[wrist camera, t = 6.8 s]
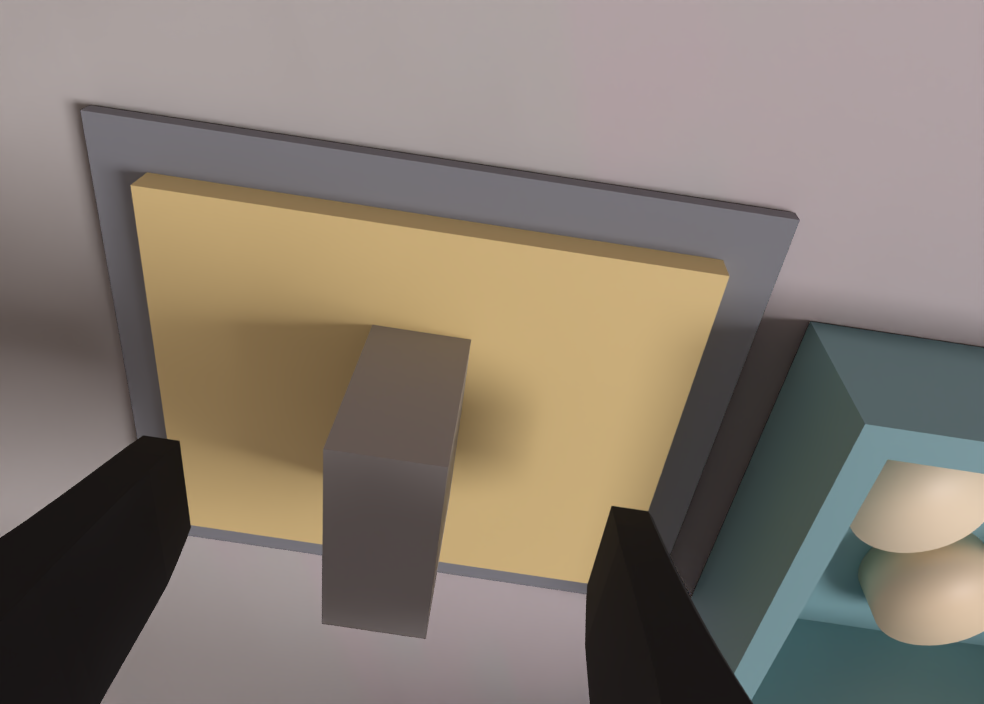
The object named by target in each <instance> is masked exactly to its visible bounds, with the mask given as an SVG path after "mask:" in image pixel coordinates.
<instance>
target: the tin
mask: <svg viewBox="0 0 984 704" xmlns="http://www.w3.org/2000/svg"><path fill="white" fill-rule="evenodd" d="M691 599H692V601H693V603H694V605H695V607H696V609H697V610H698V612H699V614H700V616H701V618H702V620H703V621H704V623H705V625H706V627H707V629H708V631H709V632H710V634H711V636H712V638H713V639H714V641H715V643H716V645H717V646H718V648H719V650H720V651H721V653H722V655H723V656H724V658H725V660H726V661H727V663H728V665H729V666H730V668H731V669H732V671H733V673H734V674H735V676H736V678H737V679H738V681H739V682H740V684H741V685H742V687H743V689H744V690H745V692H746V693H747V695H748V696H749V698H750V699H751V701H752V702H753V704H984V348H982V347H976V346H969V345H963V344H956V343H949V342H943V341H936V340H930V339H923V338H916V337H910V336H903V335H897V334H890V333H883V332H877V331H870V330H864V329H857V328H850V327H844V326H837V325H831V324H824V323H817V322H811V321H810V323H809V326H808V328H807V330H806V333H805V335H804V337H803V340H802V342H801V344H800V347H799V349H798V351H797V354H796V356H795V358H794V360H793V363H792V365H791V367H790V370H789V372H788V374H787V377H786V379H785V381H784V384H783V386H782V388H781V391H780V393H779V395H778V398H777V400H776V402H775V405H774V407H773V409H772V412H771V414H770V416H769V419H768V421H767V423H766V426H765V428H764V430H763V433H762V435H761V437H760V439H759V442H758V444H757V446H756V449H755V451H754V453H753V456H752V458H751V460H750V463H749V465H748V467H747V470H746V472H745V474H744V477H743V479H742V481H741V484H740V486H739V488H738V491H737V493H736V495H735V498H734V500H733V502H732V505H731V507H730V509H729V512H728V514H727V516H726V518H725V521H724V523H723V525H722V528H721V530H720V532H719V535H718V537H717V539H716V542H715V544H714V546H713V549H712V551H711V553H710V556H709V558H708V560H707V563H706V565H705V567H704V570H703V572H702V574H701V577H700V579H699V581H698V584H697V586H696V588H695V590H694V593H693V595H692V597H691Z"/></svg>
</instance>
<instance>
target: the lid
mask: <svg viewBox="0 0 984 704" xmlns="http://www.w3.org/2000/svg"><path fill="white" fill-rule="evenodd" d="M130 186H131V192H132V199H133V206H134V213H135V220H136V227H137V234H138V241H139V248H140V255H141V262H142V269H143V275H144V282H145V289H146V296H147V303H148V310H149V317H150V324H151V331H152V338H153V345H154V352H155V359H156V365H157V372H158V379H159V386H160V393H161V400H162V407H163V414H164V421H165V428H166V435H167V439H171V440H178V441H180V447H181V455H182V462H183V470H184V478H185V485H186V493H187V500H188V508H189V516H190V523H191V525H193V526H200V527H207V528H214V529H221V530H227V531H234V532H241V533H248V534H254V535H261V536H268V537H275V538H282V539H288V540H295V541H302V542H309V543H316V544H322V624H327V625H334V626H341V627H348V628H355V629H361V630H368V631H375V632H382V633H389V634H396V635H402V636H409V637H416V638H423V639H426V634H427V628H428V622H429V616H430V610H431V604H432V598H433V593H434V587H435V581H436V575H437V569H438V563H439V562H444V563H451V564H458V565H465V566H472V567H478V568H485V569H492V570H499V571H505V572H512V573H519V574H526V575H533V576H539V577H546V578H553V579H560V580H567V581H573V582H580V583H587V584H588V581H589V578H590V575H591V571H592V568H593V565H594V561H595V558H596V555H597V552H598V548H599V545H600V542H601V539H602V535H603V532H604V529H605V525H606V522H607V519H608V516H609V512H610V509H611V506H617V507H624V508H631V509H637V510H644V511H648V510H649V507H650V504H651V501H652V499H653V496H654V493H655V490H656V487H657V484H658V481H659V478H660V476H661V473H662V470H663V467H664V464H665V461H666V458H667V455H668V452H669V450H670V447H671V444H672V441H673V438H674V435H675V432H676V429H677V426H678V424H679V421H680V418H681V415H682V412H683V409H684V406H685V403H686V400H687V398H688V395H689V392H690V389H691V386H692V383H693V380H694V377H695V375H696V372H697V369H698V366H699V363H700V360H701V357H702V354H703V351H704V349H705V346H706V343H707V340H708V337H709V334H710V331H711V328H712V325H713V323H714V320H715V317H716V314H717V311H718V308H719V305H720V302H721V299H722V297H723V294H724V291H725V288H726V285H727V282H728V279H729V274H728V271H727V269H726V266H725V264H724V261H723V260H720V259H713V258H707V257H700V256H693V255H687V254H680V253H674V252H667V251H661V250H654V249H647V248H641V247H634V246H628V245H621V244H615V243H608V242H601V241H595V240H588V239H582V238H575V237H569V236H562V235H555V234H549V233H542V232H536V231H529V230H523V229H516V228H509V227H503V226H496V225H490V224H483V223H477V222H470V221H463V220H457V219H450V218H444V217H437V216H431V215H424V214H417V213H411V212H404V211H398V210H391V209H385V208H378V207H371V206H365V205H358V204H352V203H345V202H339V201H332V200H325V199H319V198H312V197H306V196H299V195H293V194H286V193H279V192H273V191H266V190H260V189H253V188H247V187H240V186H233V185H227V184H220V183H214V182H207V181H201V180H194V179H187V178H181V177H174V176H168V175H161V174H155V173H148V172H147V173H146V174H144V175H143V176H142V177H140V178H139V179H138V180H137V181H135V182H134V183H133V184H131V185H130Z"/></svg>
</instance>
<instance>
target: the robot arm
mask: <svg viewBox="0 0 984 704" xmlns="http://www.w3.org/2000/svg"><path fill="white" fill-rule="evenodd" d="M190 529H191V523H190V516H189V508H188V500H187V493H186V485H185V478H184V470H183V462H182V455H181V447H180V441H178V440H171V439H165V438H158V437H151V436H145V435H143V436H141V437H140V438H139V439H137V440H136V441H134V442H133V443H132V444H130V445H129V446H127V447H126V448H125V449H123V450H122V451H121V452H119V453H118V454H116V455H115V456H114V457H112V458H111V459H110V460H108V461H107V462H106V463H104V464H103V465H102V466H100V467H99V468H98V469H96V470H95V471H94V472H92V473H91V474H90V475H88V476H87V477H86V478H84V479H83V480H82V481H80V482H79V483H77V484H76V485H75V486H73V487H72V488H71V489H69V490H68V491H67V492H65V493H64V494H62V495H61V496H60V497H58V498H57V499H55V500H54V501H53V502H51V503H50V504H48V505H47V506H46V507H44V508H43V509H41V510H40V511H39V512H37V513H36V514H34V515H33V516H32V517H30V518H29V519H27V520H26V521H25V522H23V523H22V524H20V525H19V526H17V527H16V528H14V529H13V530H11V531H10V532H8V533H7V534H5V535H4V536H2V537H1V538H0V704H100V703H101V701H102V699H103V697H104V696H105V694H106V692H107V690H108V689H109V687H110V685H111V683H112V682H113V680H114V678H115V676H116V675H117V673H118V671H119V669H120V668H121V666H122V664H123V662H124V661H125V659H126V657H127V655H128V654H129V652H130V650H131V648H132V647H133V645H134V643H135V641H136V640H137V638H138V636H139V634H140V633H141V631H142V629H143V627H144V626H145V624H146V622H147V620H148V619H149V617H150V615H151V613H152V611H153V610H154V608H155V606H156V604H157V603H158V601H159V599H160V597H161V595H162V594H163V592H164V590H165V588H166V586H167V584H168V582H169V580H170V578H171V575H172V573H173V571H174V568H175V566H176V564H177V561H178V559H179V556H180V554H181V551H182V549H183V546H184V544H185V541H186V539H187V536H188V534H189V531H190ZM585 649H586V662H587V674H588V686H589V698H590V704H753V702H752V701H751V699H750V698H749V696H748V695H747V693H746V692H745V690H744V689H743V687H742V685H741V684H740V682H739V681H738V679H737V678H736V676H735V674H734V673H733V671H732V669H731V668H730V666H729V665H728V663H727V661H726V660H725V658H724V656H723V655H722V653H721V651H720V650H719V648H718V646H717V645H716V643H715V641H714V639H713V638H712V636H711V634H710V632H709V631H708V629H707V627H706V625H705V623H704V621H703V620H702V618H701V616H700V614H699V612H698V610H697V609H696V607H695V605H694V603H693V601H692V599H691V598H690V596H689V594H688V592H687V590H686V588H685V586H684V584H683V582H682V580H681V578H680V576H679V574H678V572H677V570H676V568H675V566H674V564H673V561H672V559H671V557H670V555H669V553H668V551H667V549H666V546H665V544H664V542H663V540H662V538H661V535H660V533H659V531H658V529H657V526H656V524H655V522H654V519H653V517H652V516H651V514H650V513H649V512H648V511H644V510H637V509H631V508H624V507H617V506H611V509H610V512H609V516H608V519H607V522H606V525H605V529H604V532H603V535H602V539H601V542H600V545H599V548H598V552H597V555H596V558H595V561H594V565H593V568H592V571H591V575H590V578H589V581H588V584H587V596H586V633H585Z"/></svg>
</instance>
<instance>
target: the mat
mask: <svg viewBox="0 0 984 704" xmlns="http://www.w3.org/2000/svg"><path fill="white" fill-rule="evenodd" d="M80 111H81V117H82V122H83V128H84V134H85V140H86V145H87V151H88V157H89V163H90V169H91V174H92V180H93V186H94V192H95V197H96V203H97V209H98V215H99V220H100V226H101V232H102V238H103V243H104V249H105V255H106V261H107V267H108V272H109V278H110V284H111V290H112V295H113V301H114V307H115V313H116V318H117V324H118V330H119V336H120V341H121V347H122V353H123V359H124V365H125V370H126V376H127V382H128V388H129V393H130V399H131V405H132V411H133V416H134V422H135V428H136V434H137V439H139V438H140V437H141V436H143V435H145V436H151V437H158V438H165V439H167V435H166V428H165V421H164V414H163V407H162V400H161V393H160V386H159V379H158V372H157V365H156V359H155V352H154V345H153V338H152V331H151V324H150V317H149V310H148V303H147V296H146V289H145V282H144V275H143V269H142V262H141V255H140V248H139V241H138V234H137V227H136V220H135V213H134V206H133V199H132V192H131V186H130V185H131V184H133V183H134V182H135V181H137V180H138V179H139V178H140V177H142V176H143V175H144V174H146V173H147V172H148V173H155V174H161V175H168V176H174V177H181V178H187V179H194V180H201V181H207V182H214V183H220V184H227V185H233V186H240V187H247V188H253V189H260V190H266V191H273V192H279V193H286V194H293V195H299V196H306V197H312V198H319V199H325V200H332V201H339V202H345V203H352V204H358V205H365V206H371V207H378V208H385V209H391V210H398V211H404V212H411V213H417V214H424V215H431V216H437V217H444V218H450V219H457V220H463V221H470V222H477V223H483V224H490V225H496V226H503V227H509V228H516V229H523V230H529V231H536V232H542V233H549V234H555V235H562V236H569V237H575V238H582V239H588V240H595V241H601V242H608V243H615V244H621V245H628V246H634V247H641V248H647V249H654V250H661V251H667V252H674V253H680V254H687V255H693V256H700V257H707V258H713V259H720V260H723V261H724V264H725V266H726V269H727V271H728V274H729V279H728V282H727V285H726V288H725V291H724V294H723V297H722V299H721V302H720V305H719V308H718V311H717V314H716V317H715V320H714V323H713V325H712V328H711V331H710V334H709V337H708V340H707V343H706V346H705V349H704V351H703V354H702V357H701V360H700V363H699V366H698V369H697V372H696V375H695V377H694V380H693V383H692V386H691V389H690V392H689V395H688V398H687V400H686V403H685V406H684V409H683V412H682V415H681V418H680V421H679V424H678V426H677V429H676V432H675V435H674V438H673V441H672V444H671V447H670V450H669V452H668V455H667V458H666V461H665V464H664V467H663V470H662V473H661V476H660V478H659V481H658V484H657V487H656V490H655V493H654V496H653V499H652V501H651V504H650V507H649V510H648V512H649V513H650V514H651V516H652V517H653V519H654V522H655V524H656V526H657V529H658V531H659V533H660V535H661V538H662V540H663V542H664V544H665V546H666V549H667V551H668V553H669V555H670V554H671V551H672V549H673V546H674V544H675V541H676V538H677V536H678V533H679V531H680V528H681V526H682V523H683V520H684V518H685V515H686V513H687V510H688V507H689V505H690V502H691V500H692V497H693V495H694V492H695V489H696V487H697V484H698V482H699V479H700V476H701V474H702V471H703V469H704V466H705V464H706V461H707V458H708V456H709V453H710V451H711V448H712V445H713V443H714V440H715V438H716V435H717V433H718V430H719V427H720V425H721V422H722V420H723V417H724V414H725V412H726V409H727V407H728V404H729V402H730V399H731V396H732V394H733V391H734V389H735V386H736V383H737V381H738V378H739V376H740V373H741V371H742V368H743V365H744V363H745V360H746V358H747V355H748V352H749V350H750V347H751V345H752V342H753V340H754V337H755V334H756V332H757V329H758V327H759V324H760V321H761V319H762V316H763V314H764V311H765V309H766V306H767V303H768V301H769V298H770V296H771V293H772V290H773V288H774V285H775V283H776V280H777V278H778V275H779V272H780V270H781V267H782V265H783V262H784V259H785V257H786V254H787V252H788V249H789V247H790V244H791V241H792V239H793V236H794V234H795V231H796V228H797V226H798V223H799V221H800V220H799V218H798V217H797V215H796V214H795V213H793V212H786V211H780V210H773V209H767V208H760V207H753V206H747V205H740V204H734V203H727V202H721V201H714V200H708V199H701V198H695V197H688V196H682V195H675V194H668V193H662V192H655V191H649V190H642V189H636V188H629V187H623V186H616V185H610V184H603V183H596V182H590V181H583V180H577V179H570V178H564V177H557V176H551V175H544V174H538V173H531V172H525V171H518V170H511V169H505V168H498V167H492V166H485V165H479V164H472V163H466V162H459V161H453V160H446V159H439V158H433V157H426V156H420V155H413V154H407V153H400V152H394V151H387V150H381V149H374V148H367V147H361V146H354V145H348V144H341V143H335V142H328V141H322V140H315V139H309V138H302V137H296V136H289V135H282V134H276V133H269V132H263V131H256V130H250V129H243V128H237V127H230V126H224V125H217V124H210V123H204V122H197V121H191V120H184V119H178V118H171V117H165V116H158V115H152V114H145V113H138V112H132V111H125V110H119V109H112V108H106V107H99V106H93V105H89V106H87V107H85V108H83V109H82V110H80ZM188 536H194V537H201V538H208V539H215V540H222V541H228V542H235V543H242V544H249V545H256V546H262V547H269V548H276V549H283V550H290V551H296V552H303V553H310V554H317V555H322V544H316V543H309V542H302V541H295V540H288V539H282V538H275V537H268V536H261V535H254V534H248V533H241V532H234V531H227V530H221V529H214V528H207V527H200V526H193V525H191V529H190V531H189V534H188ZM437 572H439V573H446V574H453V575H459V576H466V577H473V578H480V579H487V580H493V581H500V582H507V583H514V584H521V585H527V586H534V587H541V588H548V589H555V590H561V591H568V592H575V593H582V594H587V583H580V582H573V581H567V580H560V579H553V578H546V577H539V576H533V575H526V574H519V573H512V572H505V571H499V570H492V569H485V568H478V567H472V566H465V565H458V564H451V563H444V562H439V563H438V569H437Z"/></svg>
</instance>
